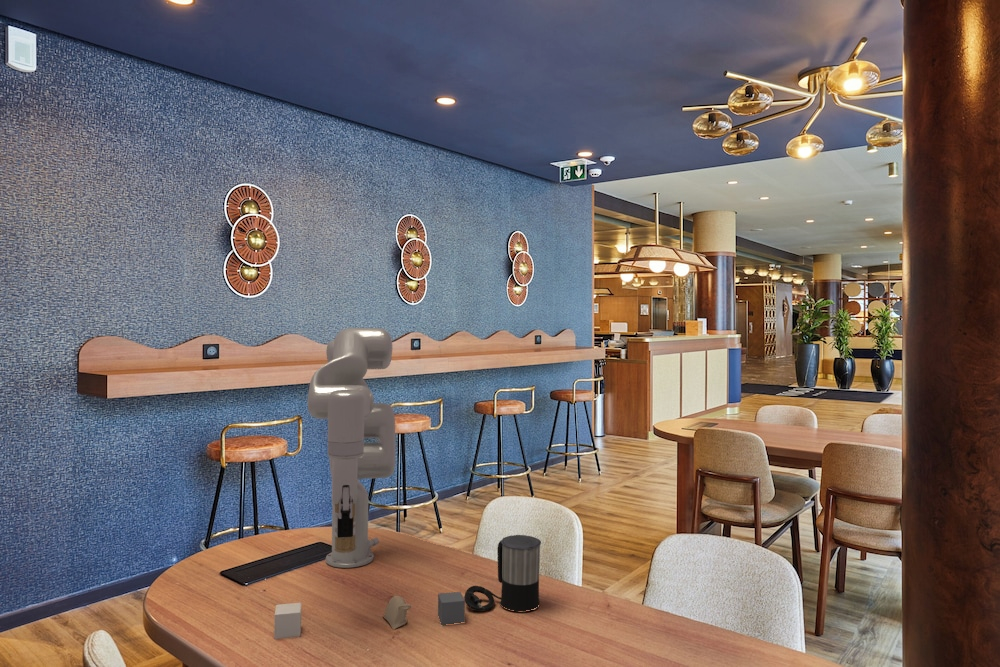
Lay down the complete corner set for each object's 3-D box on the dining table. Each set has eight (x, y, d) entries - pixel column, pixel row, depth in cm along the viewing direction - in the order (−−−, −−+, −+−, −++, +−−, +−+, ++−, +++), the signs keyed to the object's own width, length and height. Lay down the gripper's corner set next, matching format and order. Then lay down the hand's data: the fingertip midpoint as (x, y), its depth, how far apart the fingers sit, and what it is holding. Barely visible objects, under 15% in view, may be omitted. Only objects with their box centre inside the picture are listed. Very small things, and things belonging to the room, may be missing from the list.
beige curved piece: (400, 613, 148) (400, 589, 148) (413, 628, 141) (413, 603, 141) (382, 617, 146) (382, 592, 146) (395, 632, 139) (395, 607, 139)
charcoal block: (437, 616, 147) (438, 593, 147) (460, 614, 148) (460, 591, 148) (441, 626, 142) (441, 602, 142) (464, 624, 143) (464, 600, 143)
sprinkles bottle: (358, 551, 143) (359, 488, 142) (338, 555, 140) (338, 491, 139) (351, 544, 146) (351, 483, 146) (330, 548, 144) (331, 486, 143)
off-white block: (276, 628, 140) (276, 604, 140) (301, 626, 141) (301, 602, 141) (274, 639, 135) (274, 614, 135) (300, 636, 136) (300, 612, 136)
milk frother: (548, 605, 153) (549, 541, 153) (500, 627, 142) (501, 557, 142) (504, 587, 163) (504, 527, 163) (456, 606, 152) (456, 541, 152)
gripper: (327, 440, 150) (327, 521, 150) (327, 457, 133) (326, 548, 134) (362, 439, 151) (361, 519, 152) (365, 456, 135) (364, 545, 136)
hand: (345, 531), depth 143 cm, fingers closed on sprinkles bottle, 4 cm apart
